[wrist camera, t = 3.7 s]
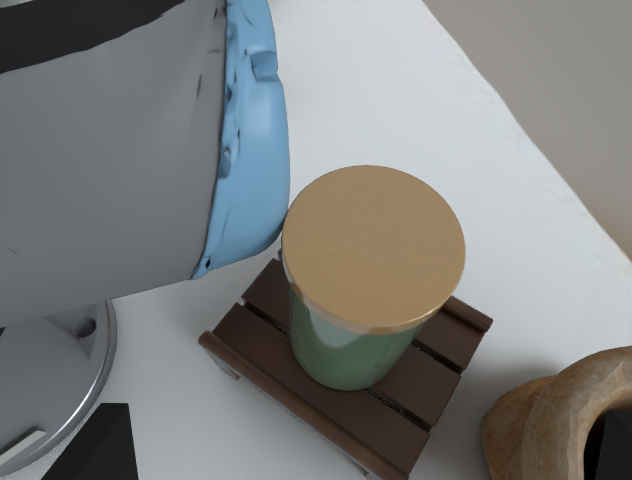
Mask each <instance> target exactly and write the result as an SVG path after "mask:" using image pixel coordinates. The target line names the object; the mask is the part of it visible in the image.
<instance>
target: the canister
mask: <svg viewBox="0 0 632 480" xmlns="http://www.w3.org/2000/svg"><path fill="white" fill-rule="evenodd" d="M281 246H282V259H283V265H284V269H285V273H286V276H287V287H288V308H289V329H290V342H291V347H292V350H293V353H294V356H295V358H296V360H297V361H298V363H299V365H300V366H301V367H302V369H303V370H304V371H305V372H306V373H307V374H308V375H309V376H310V377H311V378H313V379H314V380H316V381H317V382H319V383H320V384H322V385H325V386H327V387H330V388H333V389H337V390H345V391H352V390H360V389H364V388H367V387H370V386H372V385H374V384H376V383H378V382H379V381H381V380H382V379H383V378H384V377H386V376H387V375H388V374H389V372H390V371H391V370H392V369H393V367H394V366H395V364H396V363H397V362H398V360H399V359H400V358H401V356H402V355H403V353H404V352H405V351H406V349H407V348H408V346H409V345H410V344H411V342H412V341H413V340H414V338H415V337H416V335H417V334H418V333H419V331H420V330H421V328H422V327H423V326H424V324H425V323H426V322H427V320H428V319H430V318H431V317H432V316H434V315H435V314H436V313H437V312H438V311H439V310H440V309H441V308H442V307H443V305H444V304H445V303H446V301H447V300H448V299H449V297H450V296H451V295H452V293H453V292H454V290H455V289H456V287H457V285H458V283H459V281H460V279H461V276H462V273H463V270H464V264H465V242H464V236H463V232H462V229H461V226H460V224H459V222H458V219H457V217H456V215H455V214H454V212H453V211H452V209H451V207H450V206H449V205H448V204H447V202H446V201H445V200H444V199H443V198H442V197H441V196H440V195H439V194H438V193H437V192H436V191H435V190H434V189H433V188H431V187H430V186H429V185H427V184H426V183H424V182H423V181H421V180H419V179H418V178H416V177H414V176H412V175H410V174H407V173H405V172H402V171H399V170H396V169H392V168H388V167H382V166H371V165H361V166H351V167H345V168H341V169H338V170H334V171H332V172H329V173H327V174H325V175H323V176H321V177H319V178H317V179H316V180H314V181H313V182H312V183H310V184H309V185H308V186H306V187H305V188H304V189H303V190H302V191H301V192H300V193H299V194H298V196H297V197H296V198H295V200H294V201H293V202H292V204H291V206H290V208H289V209H288V211H287V214H286V217H285V219H284V223H283V228H282V236H281Z"/></svg>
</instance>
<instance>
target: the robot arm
mask: <svg viewBox="0 0 632 480" xmlns="http://www.w3.org/2000/svg"><path fill="white" fill-rule="evenodd" d="M277 69H278V61H277V51H276V40H275V32H274V27H273V22H272V18H271V14H270V9H269V5H268V2H267V0H0V477H1V476H4V475H7V474H10V473H12V472H14V471H17V470H19V469H21V468H23V467H25V466H27V465H29V464H30V463H32V462H34V461H36V460H37V459H39V458H40V457H42V456H43V455H45V454H46V453H48V452H49V451H50V450H51V449H53V448H54V447H55V446H57V445H58V444H59V443H60V442H61V441H62V440H63V439H64V438H66V437H67V436H68V435H69V434H70V433H71V432H72V431H73V429H74V428H75V427H76V426H77V425H78V424H79V423H80V422H81V420H82V419H83V418H84V417H85V416H86V414H87V413H88V411H89V410H90V409H91V407H92V406H93V404H94V403H95V401H96V399H97V398H98V396H99V394H100V392H101V391H102V388H103V386H104V384H105V382H106V380H107V377H108V375H109V372H110V370H111V366H112V363H113V359H114V354H115V349H116V340H117V325H116V317H115V313H114V308H113V305H112V303H111V299H115V298H118V297H122V296H126V295H130V294H134V293H138V292H142V291H146V290H149V289H153V288H157V287H161V286H165V285H169V284H173V283H177V282H181V281H184V280H194V279H198V278H201V277H202V276H204V275H205V274H206V273H207V272H208V271H211V270H214V269H216V268H219V267H222V266H225V265H228V264H231V263H234V262H237V261H240V260H243V259H246V258H249V257H252V256H255V255H257V254H259V253H261V252H263V251H264V250H266V249H267V248H268V247H269V246H270V245H272V244H273V243H274V242H275V240H276V239H277V237H278V236H279V234H280V232H281V230H282V228H283V223H284V219H285V217H286V214H287V211H288V204H289V192H290V154H289V137H288V123H287V113H286V105H285V97H284V90H283V86H282V83H281V81H280V79H279V77H278V75H277ZM41 480H138V472H137V465H136V457H135V450H134V442H133V435H132V428H131V420H130V413H129V405H128V403H101V404H100V405H99V406H98V408H97V409H96V410H95V411H94V413H93V414H92V415H91V417H90V418H89V419H88V420H87V422H86V423H85V424H84V425H83V427H82V428H81V429H80V431H79V432H78V433H77V434H76V436H75V437H74V438H73V439H72V441H71V442H70V443H69V445H68V446H67V447H66V448H65V450H64V451H63V452H62V453H61V455H60V456H59V457H58V459H57V460H56V461H55V462H54V464H53V465H52V466H51V467H50V469H49V470H48V471H47V472H46V474H45V475H44V476H43V478H42V479H41ZM595 480H632V410H608V413H607V418H606V424H605V429H604V434H603V440H602V445H601V450H600V456H599V461H598V466H597V472H596V477H595Z"/></svg>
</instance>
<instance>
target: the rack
mask: <svg viewBox="0 0 632 480" xmlns="http://www.w3.org/2000/svg"><path fill="white" fill-rule="evenodd" d="M278 258H279V261H277V260H276V259H274V258H272V260H271V261H270V262H269V263H268V264H267V266H266V267H265V268H264V269H263V271H262V272H261V273H260V274H259V275H258V277H257V278H256V279H255V280H254V281H253V283H252V284H251V285H250V286H249V288H248V289H247V290H246V291H245V292H244V294H243V295H242V296H241V297H242V299H243V302H244V305H243V306H242V305H240V304H239V303H237V302H236V303H235V304H234V306H233V307H232V308H231V309H230V310H229V312H228V313H227V314H226V315H225V317H224V318H223V319H222V320H221V321H220V323H219V324H218V325H217V326H216V327H215V329H214V330H213V331H212V332H210V331H208V330H207V331H205V332H204V333H203V334H202V335H201V336H200V338H199V340H198V343H199V344H200V345H201V346H202V347H203V348H204V349H205V350H206V351H207V353H208V354H209V355H210V356H211V357H212V359H213V360H214V361H215V362H216V364H217V365H218V366H219V367H220V368H221V369H223V370H224V371H225V372H227V373H228V374H229V375H231V376H232V377H233V378H234V379H236V380H238V379H239V378H240V377H242V378H243V379H244V380H246V381H247V382H248V383H250V384H251V385H252V386H254V387H255V388H256V389H258V390H259V391H260V392H262V393H263V394H264V395H266V396H267V397H268V398H270V399H271V400H272V401H274V402H275V403H276V404H278V405H279V406H280V407H282V408H283V409H284V410H286V411H287V412H288V413H290V414H291V415H292V416H294V417H295V418H297V419H298V420H299V421H301V422H302V423H303V424H305V425H306V426H307V427H309V428H310V429H311V430H313V431H314V432H315V433H317V434H318V435H319V436H321V437H322V438H323V439H325V440H326V441H327V442H329V443H330V444H331V445H333V446H334V447H335V448H337V449H338V450H339V451H341V452H342V453H343V454H345V455H346V456H347V457H349V458H350V459H351V460H353V461H354V462H355V463H357V464H358V465H360V466H361V467H362V468H364V469H365V470H366V471H368V472H367V474H366V478H368V479H369V480H408V479H409V474H410V472H411V470H412V468H413V466H414V465H415V463H416V461H417V459H418V457H419V455H420V453H421V452H422V450H423V448H424V446H425V444H426V442H427V440H428V439H429V437H430V434H429V432H430V430H431V429H432V428H434V427H435V425H436V424H437V422H438V420H439V418H440V416H441V414H442V412H443V411H444V409H445V407H446V405H447V403H448V401H449V399H450V397H451V396H452V394H453V392H454V390H455V388H456V386H457V384H458V383H459V381H460V379H461V376H460V374H461V373H462V372H463V371H464V370H465V369H466V368H467V366H468V364H469V362H470V360H471V358H472V356H473V355H474V353H475V351H476V349H477V347H478V345H479V343H480V342H481V340H482V338H483V336H484V334H485V333H486V332H487V331H488V330H489V328H490V326H491V325H492V323H493V319H492V318H490V317H488V316H487V315H485V314H483V313H481V312H480V311H478V310H476V309H474V308H473V307H471V306H469V305H467V304H466V303H464V302H462V301H460V300H459V299H457V298H455V297H454V296H452V295H451V296H450V297H449V299H448V300H447V301H446V303H445V304H444V305H443V307H442V308H441V309H440V310H439V311H438V312H437V313H436V314H435V315H434V316H432V317H431V318H430V319H428V320H427V322H426V323H425V324H424V326H423V327H422V328H421V330H420V331H419V333H418V334H417V335H416V337H415V338H414V340H413V341H412V342H411V344H412V345H411V344H410V345H409V346H408V348H407V349H406V351H405V352H404V353H403V355H402V356H401V358H400V359H399V360H398V362H397V363H396V364H395V366H394V367H393V369H392V370H391V371H390V372H389V374H388V375H387V376H386V377H384V378H383V379H382V380H381V381H379V382H378V383H376V384H374V385H372V386H370V387H367V388H369V389H370V390H372V391H373V392H374V393H376V394H377V395H379V396H380V397H382V398H383V399H385V400H386V401H388V402H389V403H391V404H392V405H394V406H395V407H396V408H398V409H399V410H401V411H402V413H401V414H399V413H398V412H396V411H395V410H394V409H392V408H391V407H389V406H388V405H386V404H385V403H383V402H382V401H380V400H379V399H377V398H376V397H375V396H373V395H372V394H370V393H369V392H367V391H366V390H364V389H360V390H352V391H345V390H337V389H333V388H330V387H327V386H325V385H322V384H320V383H319V382H317V381H316V380H314V379H313V378H311V377H310V376H309V375H308V374H307V373H306V372H305V371H304V370H303V369H302V367H301V366H300V365H299V363H298V361H297V360H296V358H295V356H294V353H293V350H292V347H291V342H290V338H288V337H287V336H286V335H284V334H283V333H281V332H280V331H278V330H277V327H279V328H281V329H282V330H284V331H285V332H287V333H288V334H289V335H290V329H289V308H288V287H287V276H286V273H285V269H284V265H283V259H282V248H281V249H280V250H279V251H278ZM413 345H414V346H416V347H417V348H419V349H420V350H419V349H417V348H416V347H414V346H413ZM421 350H422V351H424V352H425V353H427V354H428V355H427V354H425V353H424V352H422V351H421ZM429 355H430V356H431V357H430V356H429ZM432 357H433V358H432Z"/></svg>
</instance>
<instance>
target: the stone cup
mask: <svg viewBox="0 0 632 480" xmlns="http://www.w3.org/2000/svg"><path fill="white" fill-rule="evenodd" d="M608 410H632V346H627V347H620V348H613V349H609V350H604V351H600V352H597V353H595V354H592V355H589V356H587V357H585V358H583V359H581V360H579V361H577V362H575V363H574V364H572V365H570V366H569V367H567V368H566V369H564V370H563V371H561V372H560V373H559V374H558V375H554V376H549V377H544V378H539V379H536V380H533V381H530V382H527V383H525V384H522V385H520V386H518V387H516V388H514V389H512V390H511V391H509V392H507V393H505V394H504V395H502V396H501V397H500V398H499V399H498V400H497V402H496V403H495V405H494V407H493V408H492V409H490V410H489V411H488V412H487V414H486V415H485V416H484V418H483V422H482V426H481V427H482V440H483V447H484V451H485V455H486V460H487V464H488V467H489V471H490V474H491V477H492V480H595V477H596V472H597V466H598V461H599V456H600V450H601V445H602V440H603V434H604V429H605V424H606V418H607V413H608Z"/></svg>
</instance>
